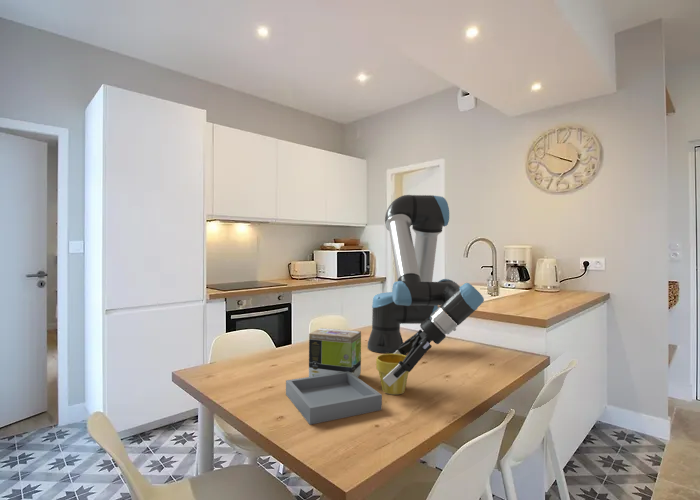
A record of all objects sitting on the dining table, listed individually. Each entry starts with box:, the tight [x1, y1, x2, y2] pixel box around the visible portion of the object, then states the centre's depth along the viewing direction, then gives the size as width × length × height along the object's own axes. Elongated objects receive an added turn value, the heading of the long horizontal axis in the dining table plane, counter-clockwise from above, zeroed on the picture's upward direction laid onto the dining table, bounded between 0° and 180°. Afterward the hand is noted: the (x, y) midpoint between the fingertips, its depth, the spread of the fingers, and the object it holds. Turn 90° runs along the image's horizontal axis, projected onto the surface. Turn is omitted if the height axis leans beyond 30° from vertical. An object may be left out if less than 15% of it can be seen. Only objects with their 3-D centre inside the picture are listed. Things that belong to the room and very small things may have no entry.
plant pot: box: [375, 353, 410, 396], centre depth 112 cm, size 10×10×10 cm
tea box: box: [308, 327, 362, 378], centre depth 123 cm, size 15×10×15 cm
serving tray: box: [285, 371, 383, 426], centre depth 103 cm, size 20×20×4 cm
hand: (385, 374), depth 112 cm, fingers open, 13 cm apart
